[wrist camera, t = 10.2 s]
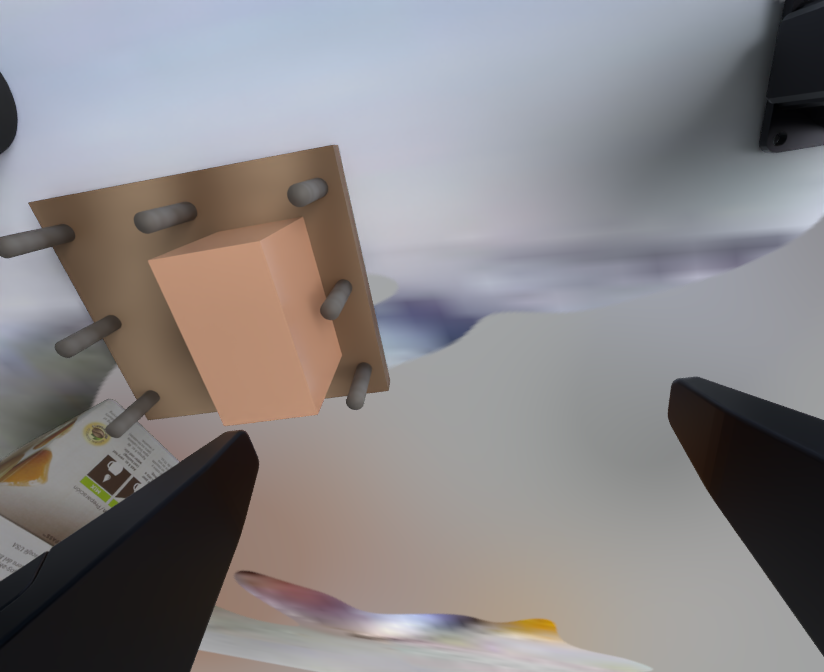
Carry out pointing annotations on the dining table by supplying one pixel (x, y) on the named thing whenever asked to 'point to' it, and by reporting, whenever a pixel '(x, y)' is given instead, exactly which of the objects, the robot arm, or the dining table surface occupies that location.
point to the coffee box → (71, 481)
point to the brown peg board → (185, 223)
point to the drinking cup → (6, 115)
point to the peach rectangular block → (253, 319)
